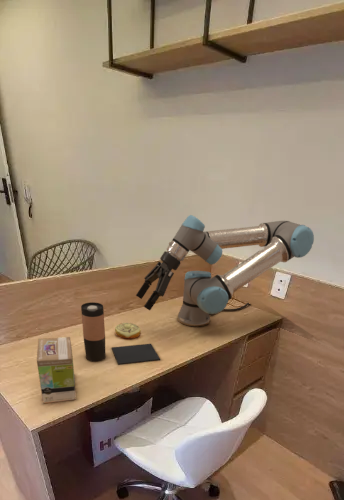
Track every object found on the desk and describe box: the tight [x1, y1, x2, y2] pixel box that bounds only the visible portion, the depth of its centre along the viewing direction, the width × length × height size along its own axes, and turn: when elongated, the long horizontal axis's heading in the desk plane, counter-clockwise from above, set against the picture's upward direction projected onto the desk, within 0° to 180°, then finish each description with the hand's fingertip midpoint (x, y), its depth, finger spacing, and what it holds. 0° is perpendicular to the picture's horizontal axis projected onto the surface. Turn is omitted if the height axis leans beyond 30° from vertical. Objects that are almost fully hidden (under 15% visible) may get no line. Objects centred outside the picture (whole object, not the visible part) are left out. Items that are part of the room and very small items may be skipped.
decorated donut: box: [114, 322, 142, 340], centre depth 144 cm, size 10×11×4 cm
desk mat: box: [111, 343, 161, 366], centre depth 130 cm, size 16×13×1 cm
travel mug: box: [80, 301, 106, 363], centre depth 121 cm, size 8×8×20 cm
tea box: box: [36, 336, 77, 404], centre depth 105 cm, size 15×10×15 cm, turn 17°
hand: (142, 302), depth 134 cm, fingers open, 13 cm apart
